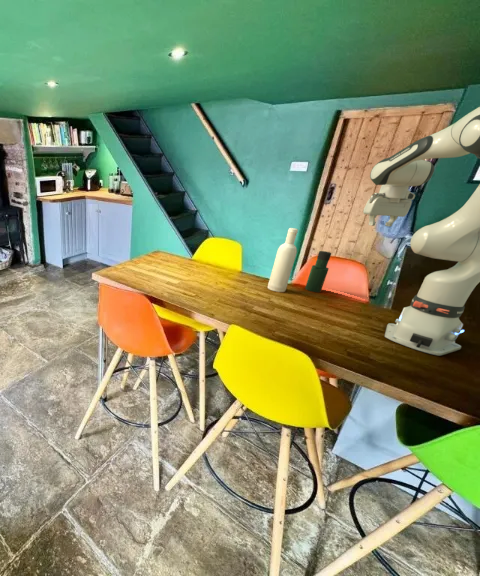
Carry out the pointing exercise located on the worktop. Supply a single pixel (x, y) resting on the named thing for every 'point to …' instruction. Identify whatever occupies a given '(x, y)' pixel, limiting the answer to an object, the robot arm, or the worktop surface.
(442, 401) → the worktop surface
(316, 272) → the bottle
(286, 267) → the bottle
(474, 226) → the robot arm
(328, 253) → the stopper
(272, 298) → the worktop surface
